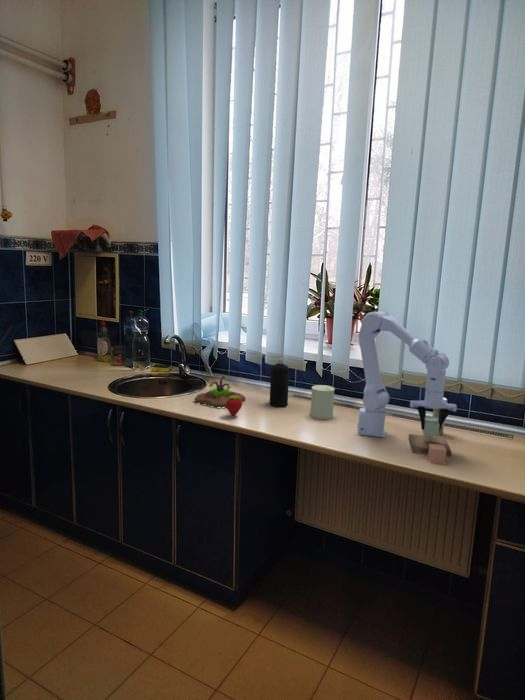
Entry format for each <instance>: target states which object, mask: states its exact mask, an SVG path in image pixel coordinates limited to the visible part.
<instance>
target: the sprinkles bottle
mask: <svg viewBox="0 0 525 700" xmlns="http://www.w3.org/2000/svg"><path fill="white" fill-rule="evenodd" d="M443 403H448V399H447V398H446V397H444V396H443ZM432 410H433V411H432V415H431V416H432V417H431V419H436V420H438V418H439V409H432ZM444 427H445V421H444V422H443V424H442V427H441V430H440V431H439V434H438V436H441V435H443V434H444Z"/></svg>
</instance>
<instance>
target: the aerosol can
mask: <svg viewBox="0 0 525 700" xmlns="http://www.w3.org/2000/svg"><path fill="white" fill-rule="evenodd" d="M283 362H284V359H283V358H282V357H281V358H278V359H277V363H275V364H273V365H272V366H271V367H270V382H269V383H270V384H269V389H270V390H269V402H268V405H269V404H270V405H271V406H270V405H269V406H270V407H272V406H275V407H274V408H278V407H282V408H286V407H285V406H287V405H288V406H289V402H288V400H289V381H290V370H291V369H290V367H289V366H288V365H286V364H285V363H283ZM288 406H287V407H288Z"/></svg>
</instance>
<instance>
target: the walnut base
mask: <svg viewBox="0 0 525 700" xmlns="http://www.w3.org/2000/svg"><path fill="white" fill-rule="evenodd" d="M407 441H408V443H409V446H410V447H409V448H410V451H411V453H415V454H416V453H417V454H425V455H428V451H429V444H437V445H444V446H445V448H446V457H451V455H452V449H451V447H450V445H449V443H448V442H447V439H446V438H445V437H441V436H438V437H434V436H424V434H423V435H422V434H413V433H409V434H408V439H407Z"/></svg>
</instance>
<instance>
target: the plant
mask: <svg viewBox="0 0 525 700" xmlns="http://www.w3.org/2000/svg"><path fill="white" fill-rule="evenodd" d="M226 379H227V376H226V375H222V376H221V377H220V379H219V380H220V381H219V383H218V382H217V381H213V382H211V383H210V384H209V388H208V389H209V391H206V392H201V393H200V394H197V396H195V397H194V403H196V402H197V403H200V404H199V405H201V404H206V405H210V406H213V407H221V408H222V407H225V408H227V406H226V402H227V400H228V399H229V397H230V396H233V395H234V396H235V395H237V396H240V397H239V398H241V399H242V402H244V401H245V402H246V396H244V395H243V394H241V393H239V392H237V391H236V392H235V391H231V389H232V387H231V385H230V384H229V383H224V384H223V380H226ZM214 384H215V385H216V386H213V385H214ZM225 386H226V388H225ZM245 402H244V403H245ZM197 403H196V404H197ZM206 405H205V406H206ZM210 406H209V407H210ZM213 407H212V408H213ZM225 408H224V409H225ZM222 409H223V408H222Z"/></svg>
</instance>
